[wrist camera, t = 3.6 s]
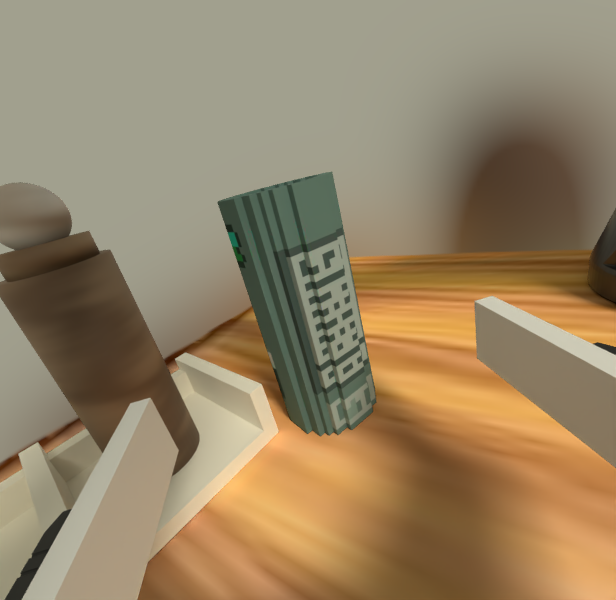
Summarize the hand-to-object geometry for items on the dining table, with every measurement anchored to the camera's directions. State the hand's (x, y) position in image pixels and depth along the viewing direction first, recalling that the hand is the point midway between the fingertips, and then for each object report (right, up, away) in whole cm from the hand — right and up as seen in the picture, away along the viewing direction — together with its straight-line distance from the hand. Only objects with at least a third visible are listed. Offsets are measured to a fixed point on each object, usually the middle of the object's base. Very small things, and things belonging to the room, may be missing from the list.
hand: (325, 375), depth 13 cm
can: (+1, -4, +10) cm, 11 cm away
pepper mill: (-10, -7, +8) cm, 15 cm away
